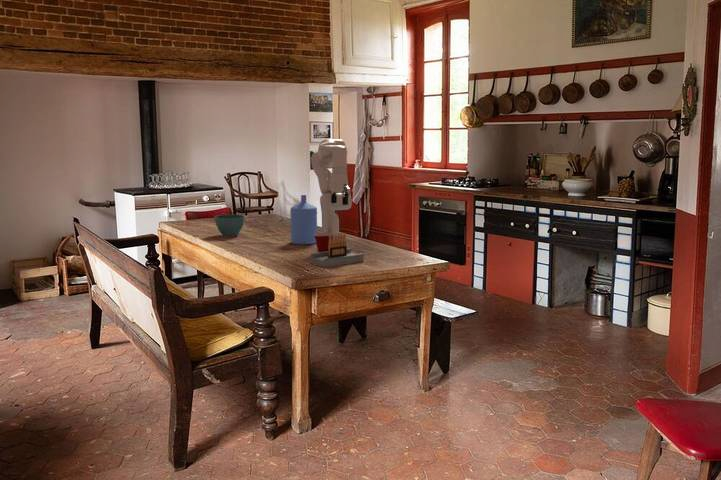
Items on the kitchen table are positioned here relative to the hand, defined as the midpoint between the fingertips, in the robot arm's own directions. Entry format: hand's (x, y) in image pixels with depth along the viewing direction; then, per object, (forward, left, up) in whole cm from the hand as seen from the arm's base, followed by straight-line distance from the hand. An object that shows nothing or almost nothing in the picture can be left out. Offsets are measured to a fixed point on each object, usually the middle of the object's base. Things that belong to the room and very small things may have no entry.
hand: (339, 203), depth 338 cm
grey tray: (+9, -8, -28) cm, 31 cm away
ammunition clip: (+9, -8, -26) cm, 28 cm away
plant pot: (-99, -12, -28) cm, 104 cm away
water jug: (-50, +11, -28) cm, 59 cm away
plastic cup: (-10, -3, -28) cm, 30 cm away
